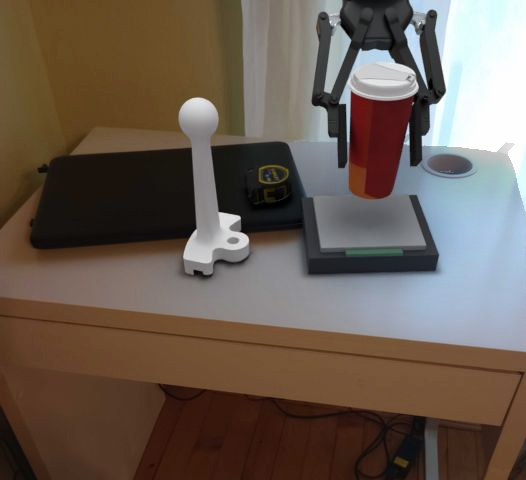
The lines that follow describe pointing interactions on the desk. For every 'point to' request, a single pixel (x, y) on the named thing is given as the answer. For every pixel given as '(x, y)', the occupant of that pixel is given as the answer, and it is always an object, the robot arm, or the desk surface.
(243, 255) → the joystick
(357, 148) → the paper cup
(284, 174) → the tape measure
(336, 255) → the scale
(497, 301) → the desk surface
